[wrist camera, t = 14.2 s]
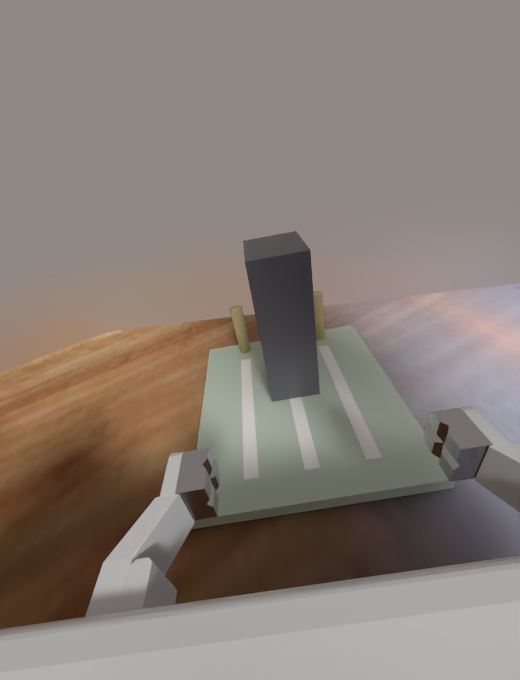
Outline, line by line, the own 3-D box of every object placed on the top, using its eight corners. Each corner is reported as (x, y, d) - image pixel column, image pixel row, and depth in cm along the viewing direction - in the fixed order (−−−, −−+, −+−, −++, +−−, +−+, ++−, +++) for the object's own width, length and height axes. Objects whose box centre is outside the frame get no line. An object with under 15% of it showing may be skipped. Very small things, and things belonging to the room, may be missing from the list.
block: (306, 356, 28) (295, 230, 22) (319, 393, 24) (310, 249, 18) (266, 363, 29) (243, 240, 22) (272, 401, 24) (245, 261, 18)
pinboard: (352, 332, 32) (353, 282, 29) (453, 488, 17) (478, 420, 14) (212, 356, 33) (197, 310, 30) (191, 529, 18) (157, 473, 15)
